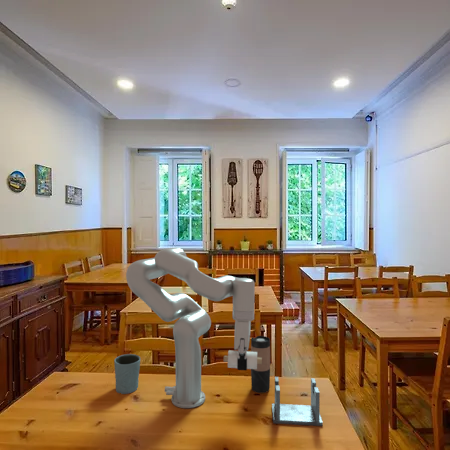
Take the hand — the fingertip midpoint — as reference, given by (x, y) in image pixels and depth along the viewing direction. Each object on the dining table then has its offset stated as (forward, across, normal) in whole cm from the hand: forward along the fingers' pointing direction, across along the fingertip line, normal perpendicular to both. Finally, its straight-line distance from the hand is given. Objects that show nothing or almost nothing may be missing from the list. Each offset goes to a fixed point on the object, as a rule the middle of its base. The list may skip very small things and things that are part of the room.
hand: (242, 365), depth 118 cm
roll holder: (+16, 0, +19) cm, 25 cm away
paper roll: (+1, 0, 0) cm, 1 cm away
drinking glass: (+18, -13, -46) cm, 51 cm away
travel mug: (+17, -18, +7) cm, 25 cm away
